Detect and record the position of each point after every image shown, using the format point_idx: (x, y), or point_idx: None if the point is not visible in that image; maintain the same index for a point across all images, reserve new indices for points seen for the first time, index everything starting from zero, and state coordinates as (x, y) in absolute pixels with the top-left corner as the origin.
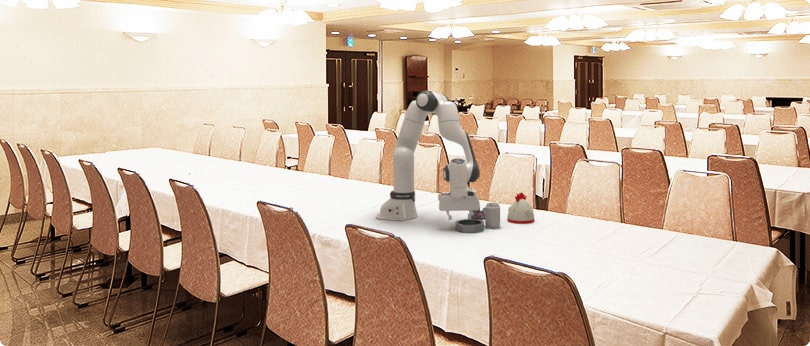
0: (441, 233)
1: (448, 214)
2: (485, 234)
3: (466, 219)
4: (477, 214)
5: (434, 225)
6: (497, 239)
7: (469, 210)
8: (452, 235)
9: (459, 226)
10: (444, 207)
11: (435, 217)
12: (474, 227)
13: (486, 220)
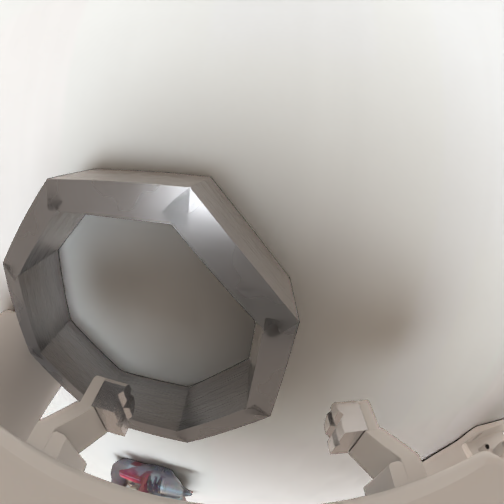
0: (431, 172)
1: (387, 445)
2: (30, 130)
3: (172, 433)
4: (140, 482)
5: (402, 405)
6: (9, 25)
7: (52, 457)
8: (334, 69)
9: (243, 242)
10: (472, 498)
11: (339, 486)
12: (62, 175)
13: (25, 364)
